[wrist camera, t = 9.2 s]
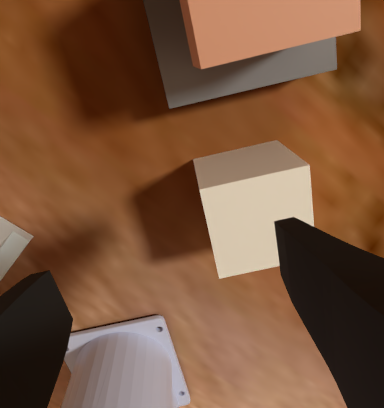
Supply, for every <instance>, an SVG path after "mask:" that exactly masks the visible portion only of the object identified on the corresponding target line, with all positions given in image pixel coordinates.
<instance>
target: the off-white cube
mask: <svg viewBox="0 0 384 408" xmlns="http://www.w3.org/2000/svg"><path fill="white" fill-rule="evenodd" d="M193 162H194V167H195V171H196V176H197V181H198V186H199V191H200V195H201V200H202V204H203V208H204V213H205V217H206V222H207V226H208V231H209V235H210V240H211V244H212V248H213V253H214V257H215V262H216V266H217V271H218V275H219V279H220V278H225V277H229V276H234V275H239V274H243V273H248V272H253V271H258V270H262V269H267V268H272V267H276V266H280V264H279V256H278V248H277V241H276V233H275V225H274V221H277V220H282V219H287V218H291V217H295V218H297V219H299V220H301V221H303V222H305V223H307V224H309V225H311V226H313V227H314V219H313V206H312V192H311V178H310V165H309V164H308V163H306V162H305V161H304V160H302V159H301V158H300V157H298V156H297V155H296V154H295V153H293V152H292V151H291V150H289V149H288V148H287V147H285V146H284V145H283V144H281V143H280V142H279V141H278V140H276V141H271V142H267V143H262V144H258V145H254V146H249V147H245V148H240V149H236V150H232V151H227V152H223V153H218V154H214V155H210V156H205V157H201V158H197V159H193Z"/></svg>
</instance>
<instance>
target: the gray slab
mask: <svg viewBox="0 0 384 408" xmlns="http://www.w3.org/2000/svg"><path fill="white" fill-rule="evenodd" d="M143 2H144V6H145V10H146V14H147V19H148V23H149V27H150V31H151V35H152V39H153V43H154V48H155V52H156V56H157V60H158V64H159V68H160V72H161V76H162V81H163V85H164V89H165V93H166V97H167V101H168V105H169V109H171V108H175V107H179V106H184V105H188V104H192V103H196V102H201V101H205V100H209V99H213V98H217V97H222V96H226V95H230V94H234V93H239V92H243V91H247V90H251V89H255V88H260V87H264V86H268V85H272V84H277V83H281V82H285V81H289V80H293V79H298V78H302V77H306V76H310V75H315V74H319V73H323V72H327V71H331V70H336V69H337V59H336V37H332V38H328V39H324V40H320V41H315V42H311V43H307V44H303V45H299V46H295V47H291V48H287V49H283V50H279V51H274V52H270V53H266V54H262V55H258V56H254V57H250V58H246V59H242V60H238V61H234V62H229V63H225V64H221V65H217V66H213V67H209V68H205V69H199V68H196V67H194V66H193V64H192V59H191V54H190V49H189V44H188V39H187V35H186V30H185V25H184V20H183V15H182V10H181V5H180V1H179V0H143Z"/></svg>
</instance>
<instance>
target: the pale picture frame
mask: <svg viewBox="0 0 384 408" xmlns="http://www.w3.org/2000/svg"><path fill="white" fill-rule="evenodd" d="M32 238H33V236H32V235H31V234H29V233H27V232H26V231H24V230H22V229H21V228H19V227H17V226H16V225H14V224H12V223H11V222H9V221H7V220H6V219H4V218H2V217H0V281H1V280H2V278H3V277H4V276H5V274H6V273H7V271H8V270H9V269H10V267H11V266H12V265H13V263H14V262H15V261H16V259H17V258H18V257H19V255H20V254H21V252H22V251H23V250H24V248H25V247H26V246H27V244H28V243H29V242H30V240H31V239H32Z"/></svg>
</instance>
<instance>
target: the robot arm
mask: <svg viewBox="0 0 384 408" xmlns="http://www.w3.org/2000/svg"><path fill="white" fill-rule="evenodd" d="M274 225H275V233H276V241H277V248H278V256H279V264H280V272H281V276H282V279H283V281H284V284H285V286H286V289H287V291H288V294H289V296H290V299H291V301H292V303H293V305H294V307H295V309H296V310H297V312H298V314H299V316H300V318H301V319H302V321H303V323H304V325H305V327H306V328H307V330H308V332H309V334H310V335H311V337H312V339H313V341H314V342H315V344H316V346H317V348H318V350H319V351H320V353H321V355H322V357H323V358H324V360H325V362H326V364H327V365H328V367H329V369H330V371H331V373H332V375H333V377H334V379H335V381H336V383H337V385H338V388H339V390H340V392H341V394H342V396H343V399H344V401H345V403H346V405H347V408H384V258H382V257H379V256H377V255H374V254H372V253H369V252H367V251H364V250H362V249H359V248H357V247H355V246H353V245H350V244H348V243H346V242H344V241H342V240H339V239H337V238H335V237H333V236H331V235H329V234H327V233H325V232H323V231H321V230H319V229H317V228H315V227H313V226H311V225H309V224H307V223H305V222H303V221H301V220H299V219H297V218H295V217H291V218H287V219H282V220H277V221H274ZM72 322H73V318H72V316H71V314H70V312H69V310H68V308H67V306H66V304H65V302H64V299H63V297H62V295H61V293H60V291H59V289H58V287H57V285H56V283H55V281H54V279H53V277H52V275H51V273H50V270H49V271H44V272H40V273H35V274H31V275H29V276H28V277H26V278H24V279H23V280H21V281H20V282H19V283H17V284H16V285H15V286H13V287H12V288H11V289H9V290H8V291H7V292H5V293H4V294H3V295H2V296H0V408H47V406H48V404H49V401H50V398H51V395H52V392H53V389H54V386H55V384H56V381H57V378H58V375H59V372H60V369H61V366H62V363H63V360H64V361H65V362H66V364H67V366H68V368H69V370H70V372H71V377H70V381H69V384H68V387H67V390H66V393H65V396H64V399H63V402H62V406H61V408H179V406H184V405H187V404H189V403H190V395H189V392H188V389H187V385H186V382H185V379H184V376H183V373H182V370H181V367H180V364H179V361H178V358H177V355H176V352H175V349H174V346H173V343H172V340H171V337H170V334H169V331H168V328H167V325H166V322H165V319H164V317H162V316H160V315H155V316H151V317H146V318H141V319H136V320H132V321H127V322H122V323H117V324H113V325H108V326H103V327H98V328H94V329H89V330H84V331H79V332H75V333H71V327H72ZM158 327H162V328H158Z"/></svg>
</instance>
